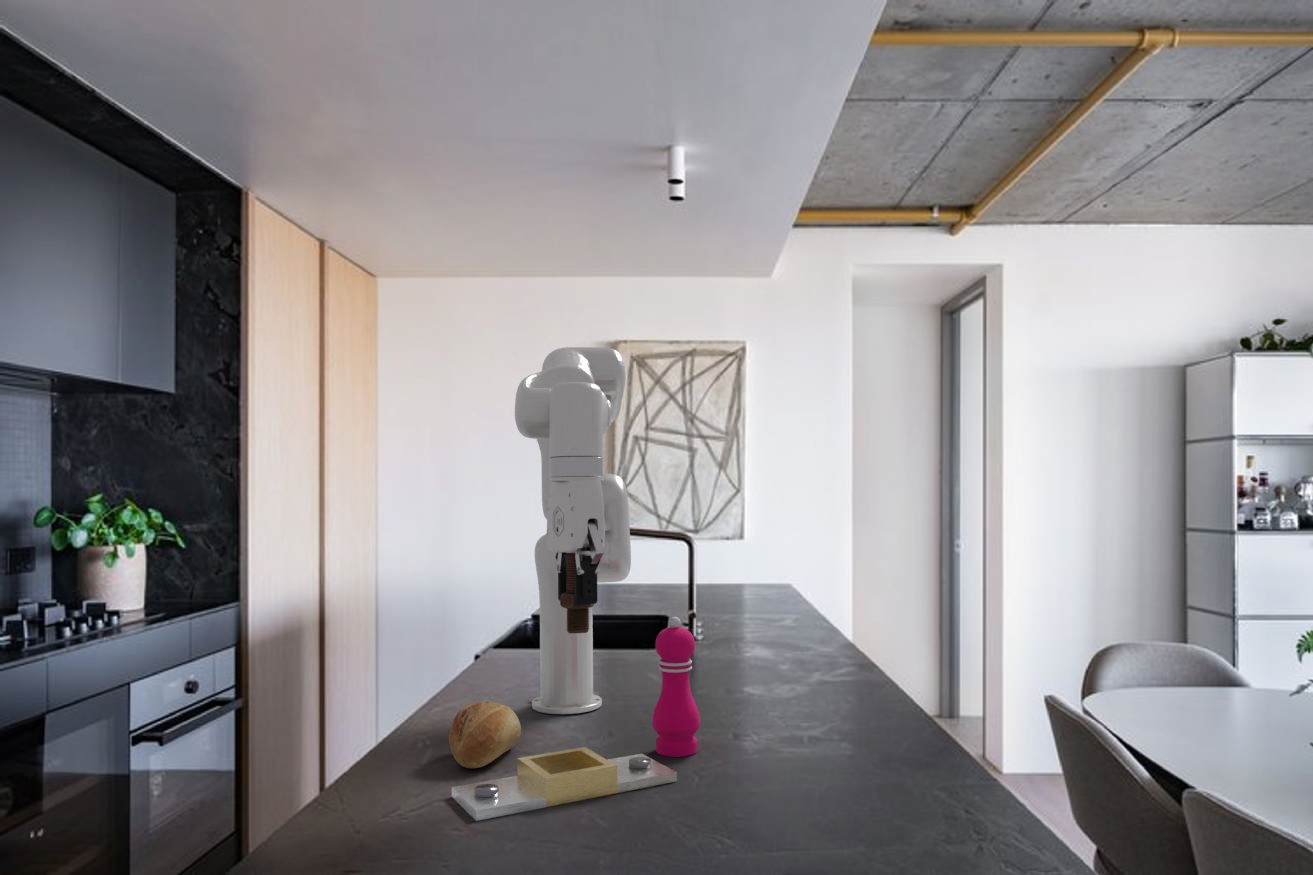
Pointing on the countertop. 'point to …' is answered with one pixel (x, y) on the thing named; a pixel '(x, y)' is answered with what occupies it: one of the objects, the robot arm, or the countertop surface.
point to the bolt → (575, 612)
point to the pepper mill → (675, 693)
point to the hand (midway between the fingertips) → (577, 600)
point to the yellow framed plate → (560, 782)
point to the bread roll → (483, 733)
